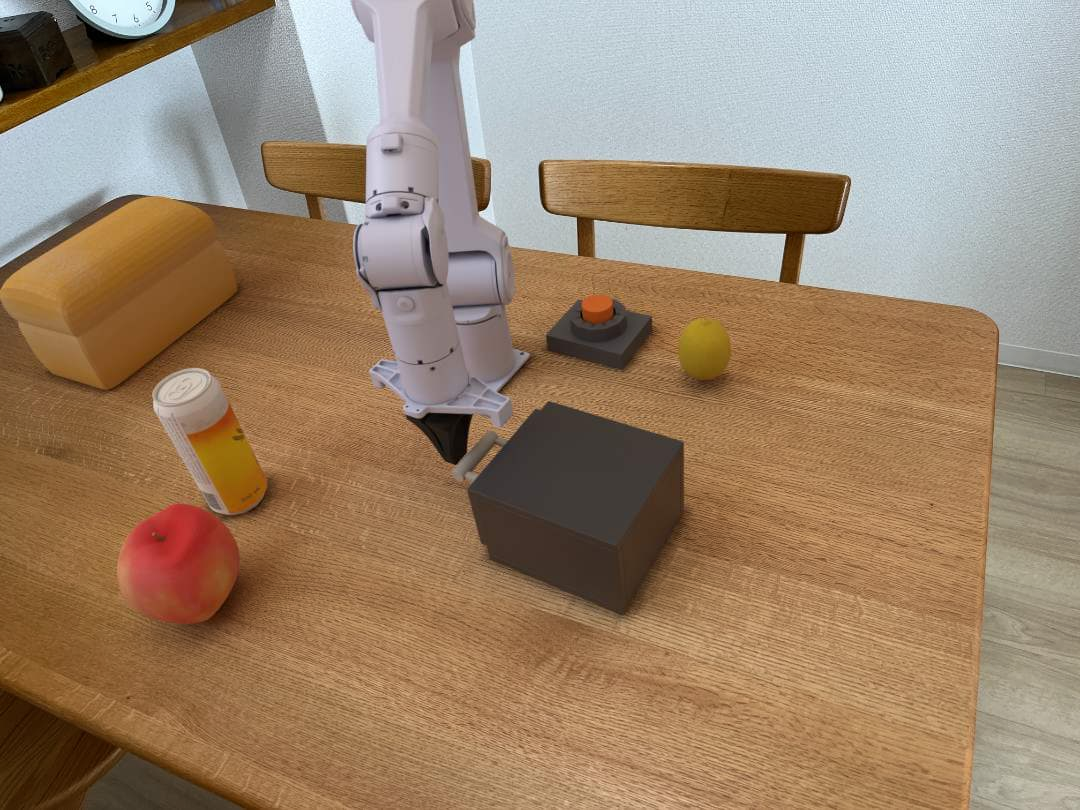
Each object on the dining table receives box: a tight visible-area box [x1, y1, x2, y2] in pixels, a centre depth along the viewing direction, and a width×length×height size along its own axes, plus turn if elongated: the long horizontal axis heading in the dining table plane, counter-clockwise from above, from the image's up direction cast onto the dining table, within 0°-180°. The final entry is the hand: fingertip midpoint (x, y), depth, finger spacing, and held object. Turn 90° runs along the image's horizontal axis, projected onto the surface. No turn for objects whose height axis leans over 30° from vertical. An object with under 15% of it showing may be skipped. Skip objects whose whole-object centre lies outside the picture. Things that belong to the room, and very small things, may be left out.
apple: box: [116, 503, 240, 625], centre depth 70 cm, size 10×10×10 cm
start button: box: [581, 294, 613, 324], centre depth 94 cm, size 4×4×2 cm
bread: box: [0, 195, 238, 391], centre depth 106 cm, size 24×13×15 cm, turn 153°
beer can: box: [151, 367, 268, 516], centre depth 79 cm, size 6×6×15 cm
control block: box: [545, 298, 653, 370], centre depth 95 cm, size 10×8×4 cm
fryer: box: [473, 400, 685, 616], centre depth 71 cm, size 14×13×9 cm
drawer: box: [450, 408, 541, 546], centre depth 73 cm, size 17×11×7 cm
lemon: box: [677, 317, 732, 381], centre depth 86 cm, size 6×6×8 cm
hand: (456, 456), depth 78 cm, fingers closed
